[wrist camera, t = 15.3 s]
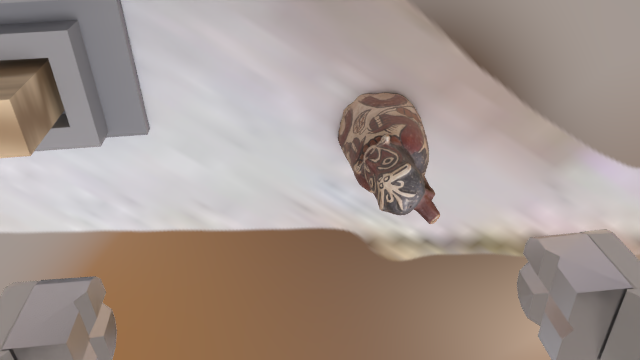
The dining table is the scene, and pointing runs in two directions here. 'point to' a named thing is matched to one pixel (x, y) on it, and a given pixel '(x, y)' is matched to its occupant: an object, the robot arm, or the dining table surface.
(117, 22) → the socket board
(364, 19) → the dining table surface
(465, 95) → the dining table surface
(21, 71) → the wood plug
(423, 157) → the figurine
